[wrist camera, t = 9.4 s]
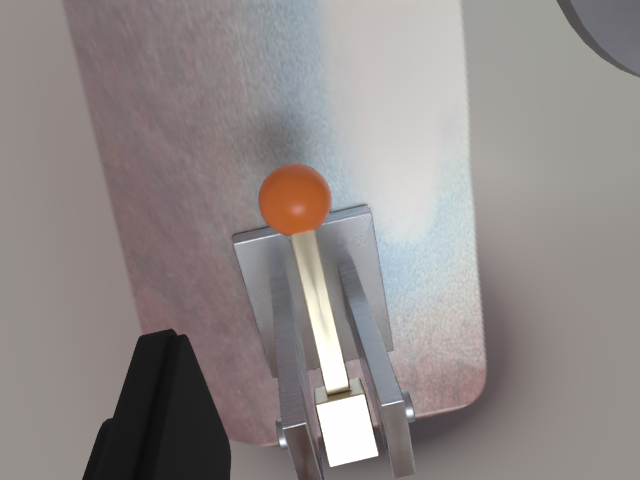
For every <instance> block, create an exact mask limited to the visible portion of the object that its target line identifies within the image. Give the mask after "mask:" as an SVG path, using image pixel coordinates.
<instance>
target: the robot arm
mask: <svg viewBox="0 0 640 480" xmlns="http://www.w3.org/2000/svg"><path fill="white" fill-rule="evenodd" d="M230 469H231V450H230V444H229V440H228V437H227V435H226V432H225V429H224V427H223V424H222V422H221V419H220V417H219V414H218V412H217V409H216V407H215V404H214V402H213V399H212V397H211V394H210V391H209V389H208V386H207V384H206V381H205V379H204V376H203V374H202V371H201V369H200V366H199V364H198V361H197V359H196V356H195V354H194V351H193V348H192V346H191V343H190V341H189V339H188V337H187V336H186V335H185V334H183V335H178V336H177V334H176V332H175V331H174V330H173V329H168V330H163V331H159V332H155V333H150V334H146V335H142V336H140V337H139V339H138V341H137V344H136V347H135V350H134V354H133V357H132V360H131V363H130V367H129V369H128V372H127V376H126V378H125V382H124V385H123V388H122V391H121V394H120V397H119V400H118V404H117V407H116V410H115V413H114V416H113V418H111V419H107V420H106V421H105V422H103V424H102V426H101V428H100V430H99V432H98V435H97V438H96V441H95V444H94V446H93V449H92V452H91V456H90V458H89V461H88V464H87V467H86V470H85V473H84V476H83V479H82V480H230Z"/></svg>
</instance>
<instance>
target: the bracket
mask: <svg viewBox="0 0 640 480" xmlns="http://www.w3.org/2000/svg"><path fill="white" fill-rule="evenodd" d="M315 233H316V237H317V242H318V246H319V251H320V255H321V259H322V264H323V268H324V273H325V277H326V281H327V286H328V290H329V295H330V299H331V303H332V308H333V312H334V317H335V321H336V326H337V330H338V334H339V339H340V343H341V348H342V352H343V356H344V361H345V362H346V361H351V360H355V359H359V360H360V363H361V367H362V370H363V374H364V377H365V381H366V384H367V388H368V391H369V395H370V398H371V401H372V405H373V408H374V412H375V415H376V419H377V422H378V426H379V429H380V432H381V436H382V439H383V443H384V446H385V450H386V453H387V457H388V460H389V464H390V467H391V470H392V474H393V477H394V478H395V479H396V478H400V477H405V476H409V475H413V474H416V470H415V463H414V457H413V451H412V445H411V438H410V432H409V426H408V423H411V422H414V421H415V414H414V409H413V405H412V401H411V398H410V395H409V393H408V391H407V390H402V391H401V389H400V386H399V384H398V381H397V378H396V376H395V373H394V370H393V367H392V365H391V362H390V359H389V356H388V354H387V352H389V351H393V350H394V348H393V342H392V336H391V330H390V323H389V317H388V311H387V305H386V299H385V293H384V286H383V280H382V274H381V268H380V262H379V256H378V249H377V243H376V237H375V231H374V225H373V219H372V213H371V211H370V209H369V207H368V205H364V206H360V207H355V208H351V209H346V210H342V211H338V212H333V213H329V215H328V217H327V219H326V220H325V222H324V223H323V224H322V225H321V227H320V228H318V229H317V230H316V231H315ZM233 247H234V251H235V254H236V257H237V261H238V264H239V267H240V271H241V274H242V277H243V281H244V284H245V287H246V291H247V294H248V297H249V301H250V304H251V307H252V311H253V314H254V317H255V321H256V324H257V327H258V331H259V334H260V337H261V341H262V344H263V347H264V351H265V354H266V357H267V361H268V364H269V367H270V371H271V374H272V377H273V378H277V377H278V385H279V398H280V411H281V419H278V420H276V431H277V437H278V442H279V446H280V449H281V451H282V452H288V451H289V453H290V456H291V460H292V463H293V466H294V470H295V473H296V476H297V479H298V480H324V477H323V470H322V463H321V457H320V450H319V444H318V437H317V431H316V424H315V417H314V411H313V404H312V398H311V391H310V385H309V378H308V372H307V371H308V370H312V369H316V368H320V365H319V361H318V356H317V352H316V347H315V343H314V339H313V334H312V330H311V325H310V321H309V317H308V312H307V308H306V304H305V299H304V295H303V290H302V286H301V282H300V277H299V273H298V268H297V264H296V260H295V255H294V251H293V246H292V242H291V238H290V236H285V235H282V234H280V233H278V232H276V231H275V230H273V229H272V228H271V227H267V228H262V229H258V230H254V231H249V232H245V233H240V234H236V235H233Z"/></svg>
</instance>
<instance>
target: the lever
mask: <svg viewBox="0 0 640 480" xmlns="http://www.w3.org/2000/svg"><path fill="white" fill-rule="evenodd" d="M259 208H260V212H261V214H262V217H263V218H264V220H265V222H266V223H267V224H268V225H269V226H270V227H271V228H272V229H273V230H275V231H276V232H278V233H280V234H282V235H285V236H290V238H291V242H292V246H293V251H294V255H295V260H296V264H297V268H298V273H299V277H300V282H301V286H302V290H303V295H304V299H305V304H306V308H307V312H308V317H309V321H310V325H311V330H312V334H313V339H314V343H315V347H316V352H317V356H318V361H319V365H320V369H321V374H322V378H323V382H324V386H323V387H318V388H315V389H314V398H315V408H316V413H317V417H318V421H319V426H320V430H321V434H322V439H323V443H324V448H325V452H326V456H327V461H328V465H329V467H334V466H338V465H342V464H347V463H351V462H355V461H360V460H364V459H368V458H372V457H376V456H379V451H378V446H377V442H376V437H375V433H374V429H373V424H372V420H371V415H370V411H369V407H368V402H367V398H366V393H365V391H364V388H363V385H362V383H361V380H360V378H357V379H353V380H349V378H348V374H347V370H346V365H345V361H344V356H343V352H342V348H341V343H340V339H339V334H338V330H337V326H336V321H335V317H334V312H333V308H332V303H331V299H330V295H329V290H328V286H327V281H326V277H325V273H324V268H323V264H322V259H321V255H320V251H319V246H318V242H317V237H316V233H315V231H316V230H317V229H318V228H320V227H321V225H322V224H323V223H324V222H325V220H326V219H327V217H328V215H329V212H330V209H331V192H330V189H329V186H328V184H327V182H326V181H325V179H324V178H323V176H322V175H321V174H320V173H319V172H317V171H316V170H315V169H313V168H311V167H309V166H306V165H302V164H288V165H284V166H281V167H279V168H277V169H275V170H274V171H273V172H271V173H270V174H269V175H268V176H267V178H266V179H265V180H264V182H263V184H262V186H261V189H260V192H259Z"/></svg>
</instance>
